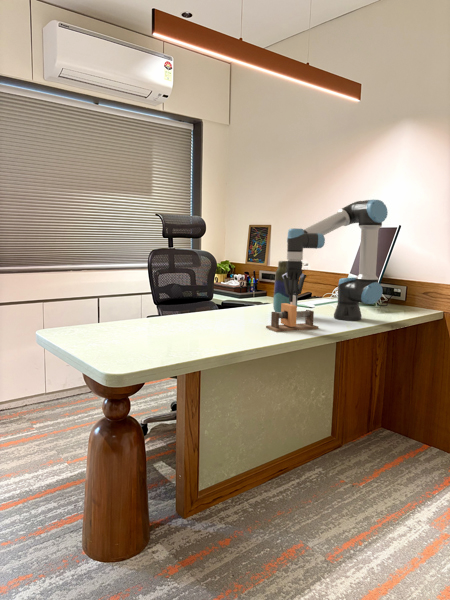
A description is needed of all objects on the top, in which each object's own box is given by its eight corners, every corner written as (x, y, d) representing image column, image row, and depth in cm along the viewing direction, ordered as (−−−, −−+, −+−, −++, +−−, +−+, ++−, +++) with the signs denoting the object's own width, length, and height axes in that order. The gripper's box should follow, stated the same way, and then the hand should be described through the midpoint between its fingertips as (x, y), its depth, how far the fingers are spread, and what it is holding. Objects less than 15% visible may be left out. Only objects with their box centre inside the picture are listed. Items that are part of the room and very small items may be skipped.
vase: (268, 315, 266) (270, 261, 261) (279, 312, 277) (280, 260, 273) (291, 318, 258) (293, 262, 254) (300, 314, 270) (302, 261, 266)
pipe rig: (307, 325, 238) (308, 308, 237) (318, 328, 229) (319, 311, 227) (266, 328, 229) (266, 310, 228) (275, 331, 220) (276, 313, 219)
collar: (285, 322, 233) (286, 303, 231) (296, 326, 224) (296, 306, 222) (280, 323, 232) (281, 303, 230) (290, 326, 222) (291, 306, 221)
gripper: (302, 260, 230) (300, 306, 233) (279, 260, 225) (277, 307, 228) (310, 260, 223) (308, 309, 226) (286, 260, 218) (284, 310, 222)
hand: (292, 308), depth 227 cm, fingers closed
